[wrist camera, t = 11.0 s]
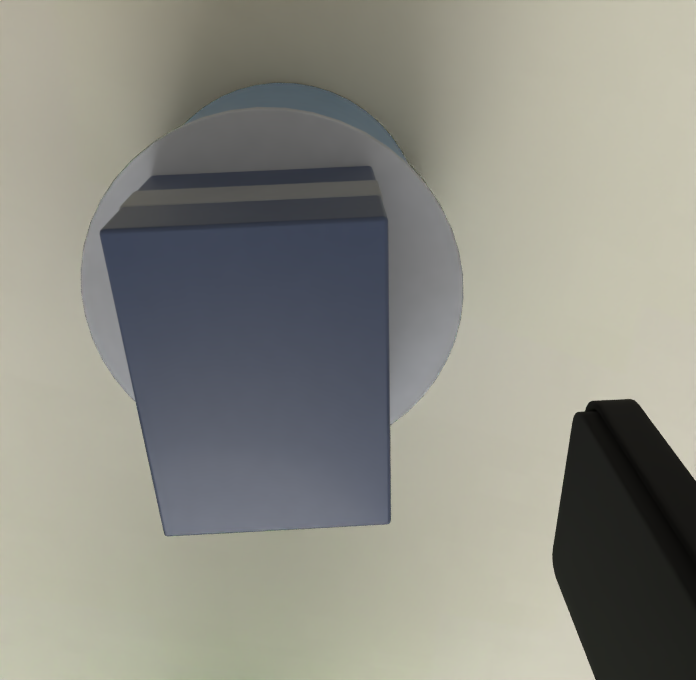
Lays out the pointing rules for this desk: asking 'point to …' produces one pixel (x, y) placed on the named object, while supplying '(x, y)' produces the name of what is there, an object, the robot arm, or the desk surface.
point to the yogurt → (305, 153)
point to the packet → (258, 346)
